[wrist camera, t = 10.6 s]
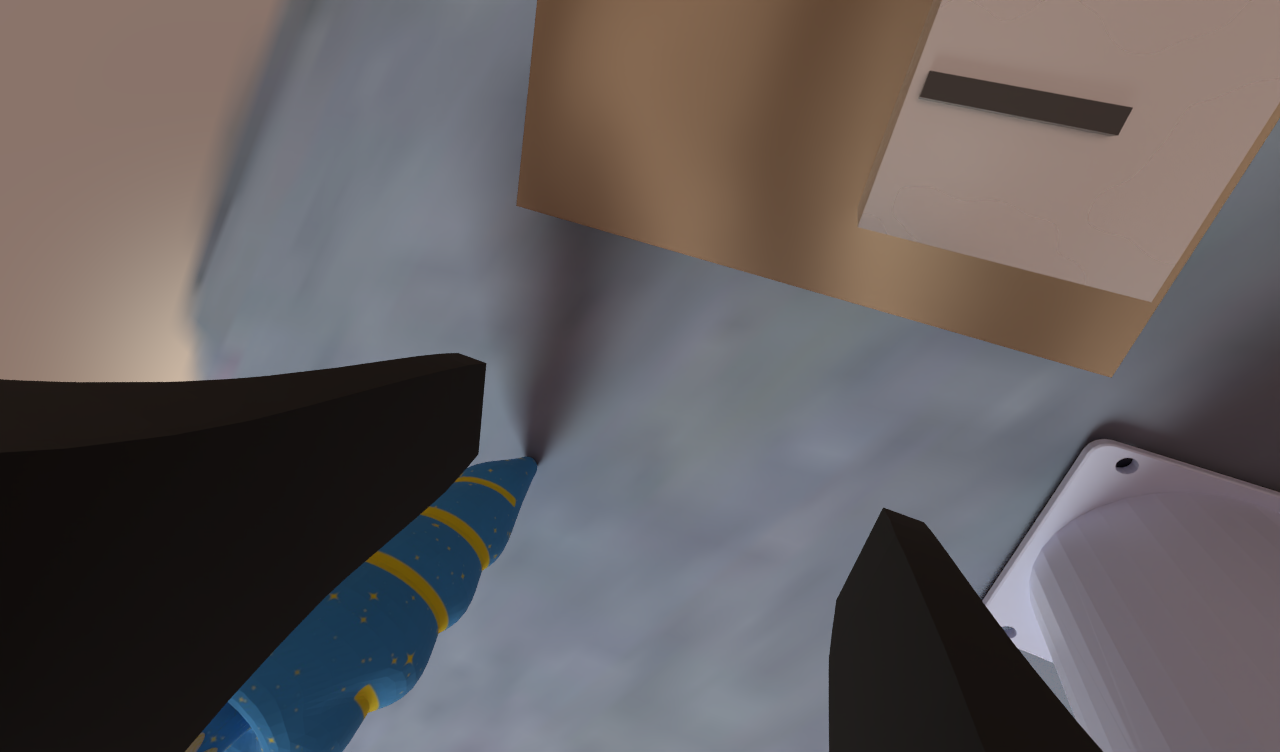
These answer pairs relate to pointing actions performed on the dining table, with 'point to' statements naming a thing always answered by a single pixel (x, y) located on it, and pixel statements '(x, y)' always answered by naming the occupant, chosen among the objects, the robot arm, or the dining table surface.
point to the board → (780, 161)
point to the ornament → (375, 623)
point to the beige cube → (1074, 131)
